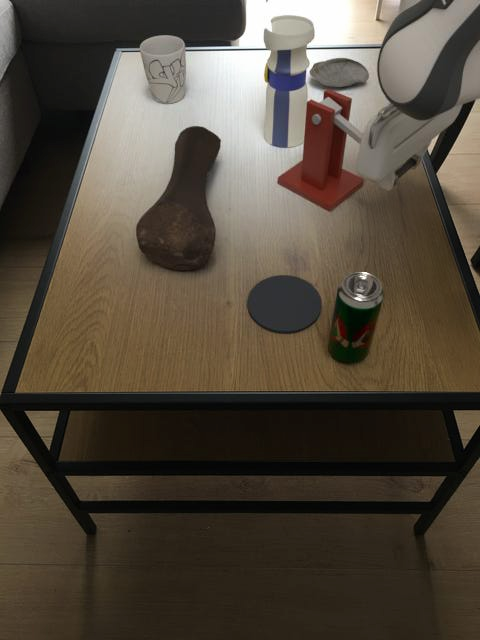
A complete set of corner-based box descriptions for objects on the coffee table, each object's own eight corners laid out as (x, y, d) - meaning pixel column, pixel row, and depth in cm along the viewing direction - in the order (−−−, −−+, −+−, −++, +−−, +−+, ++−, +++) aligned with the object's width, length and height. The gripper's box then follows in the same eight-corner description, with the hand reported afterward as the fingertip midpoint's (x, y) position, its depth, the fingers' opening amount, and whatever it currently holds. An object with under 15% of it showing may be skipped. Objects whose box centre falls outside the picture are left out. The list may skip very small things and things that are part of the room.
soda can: (371, 339, 69) (389, 274, 60) (363, 370, 66) (381, 307, 57) (332, 329, 70) (344, 264, 61) (323, 360, 67) (334, 296, 58)
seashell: (366, 73, 112) (370, 48, 108) (368, 93, 107) (372, 68, 103) (308, 71, 113) (310, 47, 109) (308, 92, 108) (310, 67, 104)
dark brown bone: (193, 290, 78) (212, 188, 98) (225, 238, 71) (238, 140, 91) (121, 260, 75) (156, 161, 95) (148, 203, 68) (179, 110, 88)
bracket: (363, 185, 89) (379, 100, 77) (330, 211, 85) (341, 126, 73) (311, 159, 94) (318, 76, 82) (277, 183, 90) (280, 99, 78)
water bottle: (255, 145, 97) (254, -8, 77) (269, 120, 102) (271, -30, 82) (299, 153, 95) (310, -2, 75) (311, 127, 100) (324, -25, 80)
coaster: (324, 282, 75) (325, 279, 75) (317, 339, 69) (317, 336, 69) (254, 273, 77) (254, 270, 76) (240, 328, 71) (240, 325, 70)
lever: (409, 171, 78) (417, 159, 76) (390, 187, 76) (398, 176, 74) (328, 105, 82) (334, 92, 79) (308, 119, 79) (313, 106, 77)
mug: (157, 77, 113) (149, 27, 105) (196, 79, 112) (191, 29, 105) (143, 106, 106) (134, 54, 98) (185, 108, 105) (179, 56, 97)
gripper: (397, 126, 60) (377, 221, 71) (486, 59, 69) (456, 153, 80) (351, 107, 63) (338, 201, 74) (442, 45, 72) (419, 137, 83)
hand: (400, 176), depth 77 cm, fingers closed on lever, 5 cm apart
